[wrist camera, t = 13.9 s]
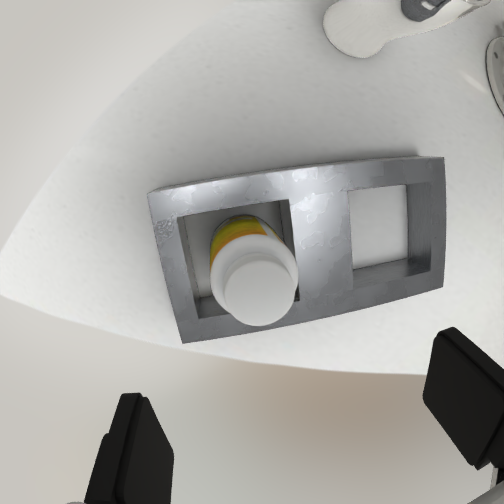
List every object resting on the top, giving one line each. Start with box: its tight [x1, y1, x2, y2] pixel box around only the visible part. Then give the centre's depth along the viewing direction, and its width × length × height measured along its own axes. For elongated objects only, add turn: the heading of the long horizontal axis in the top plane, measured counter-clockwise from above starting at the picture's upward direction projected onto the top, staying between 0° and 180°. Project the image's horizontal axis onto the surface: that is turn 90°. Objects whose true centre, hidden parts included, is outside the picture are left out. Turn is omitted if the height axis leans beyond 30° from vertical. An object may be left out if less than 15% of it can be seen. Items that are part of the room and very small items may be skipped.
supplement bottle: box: [210, 215, 298, 326], centre depth 22 cm, size 6×6×10 cm
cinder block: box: [147, 156, 446, 344], centre depth 26 cm, size 12×24×4 cm, turn 97°
